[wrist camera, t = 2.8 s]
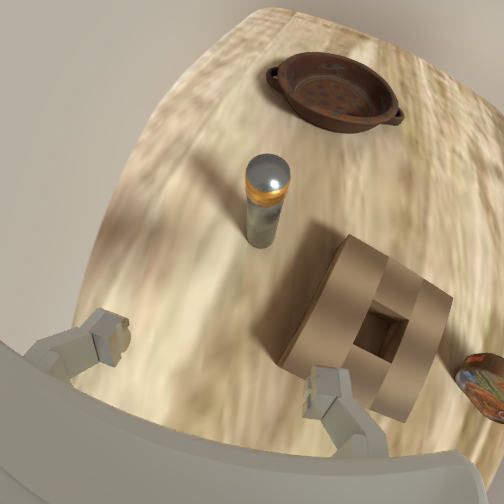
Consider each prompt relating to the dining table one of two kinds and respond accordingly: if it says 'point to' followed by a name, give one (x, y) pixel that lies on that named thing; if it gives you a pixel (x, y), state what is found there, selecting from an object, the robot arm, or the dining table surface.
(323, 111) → the dish
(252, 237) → the grey upright cylinder
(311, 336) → the brown square frame
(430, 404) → the dining table surface
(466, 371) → the tin
